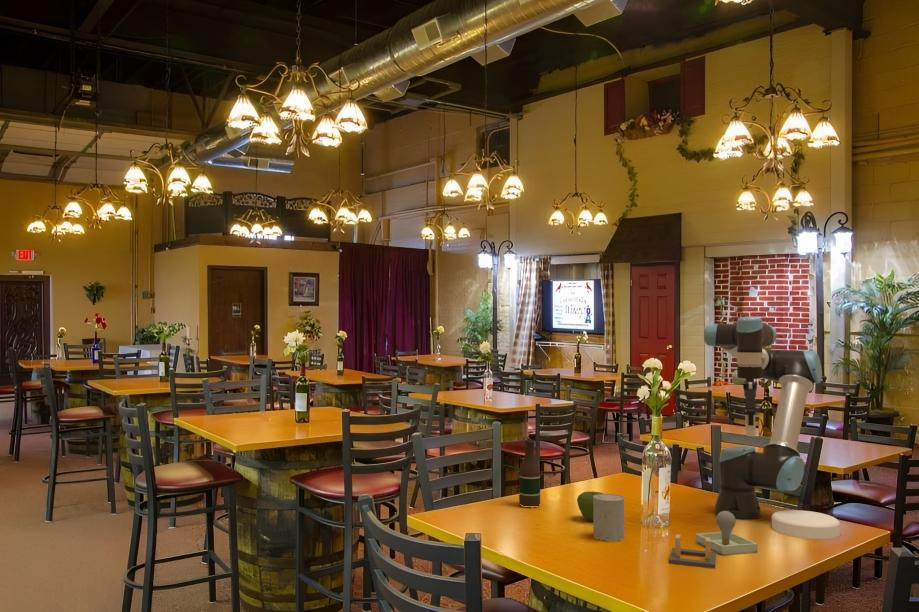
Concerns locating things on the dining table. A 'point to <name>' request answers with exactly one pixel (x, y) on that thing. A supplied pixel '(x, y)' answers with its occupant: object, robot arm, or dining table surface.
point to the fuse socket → (678, 552)
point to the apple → (586, 504)
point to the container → (805, 524)
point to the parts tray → (734, 547)
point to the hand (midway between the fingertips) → (750, 433)
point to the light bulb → (725, 525)
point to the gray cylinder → (608, 517)
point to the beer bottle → (529, 477)
